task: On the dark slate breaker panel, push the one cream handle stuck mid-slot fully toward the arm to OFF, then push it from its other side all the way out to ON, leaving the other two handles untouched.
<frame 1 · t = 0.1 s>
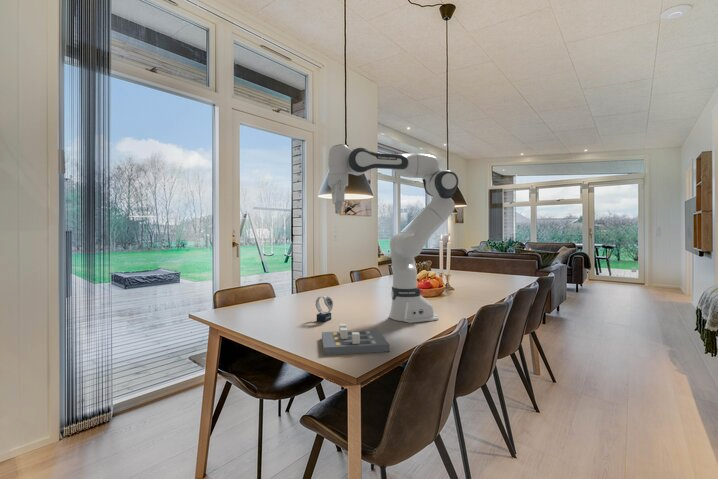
hand: (338, 213, 158), 48 cm above the table, tool pointing down, fingers open, 8 cm apart
breaker handle middle: (343, 333, 126), point 4 cm above the table, slide at 3.5 cm
breaker handle far: (342, 328, 132), point 4 cm above the table, slide at 3.5 cm
watch: (324, 320, 159), on the table
breaker panel: (353, 344, 127), on the table
breaker handle tripped: (355, 337, 121), point 4 cm above the table, slide at 0.0 cm
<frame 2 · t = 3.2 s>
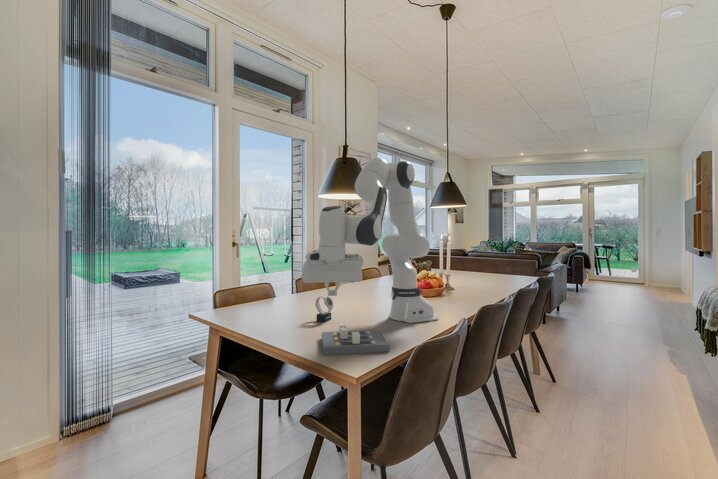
hand: (332, 295, 120), 19 cm above the table, tool pointing down, fingers closed
nothing on the table moved.
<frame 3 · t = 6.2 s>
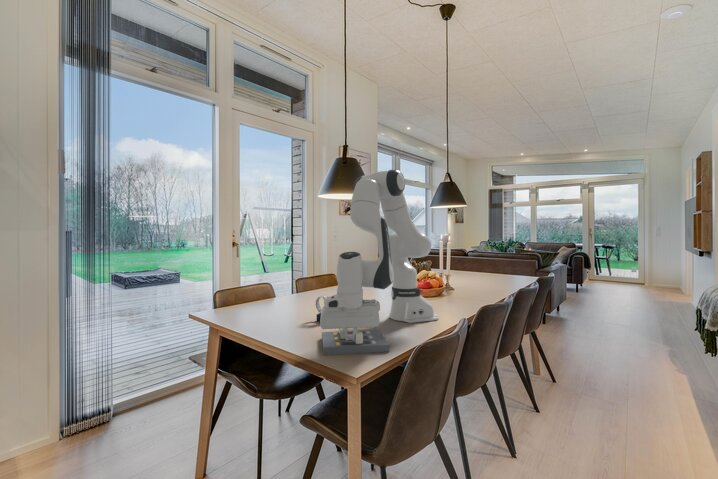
hand: (349, 340, 121), 3 cm above the table, tool pointing down, fingers closed
breaker handle tripped: (358, 337, 122), point 4 cm above the table, slide at -1.1 cm, touching gripper
everything else where it was.
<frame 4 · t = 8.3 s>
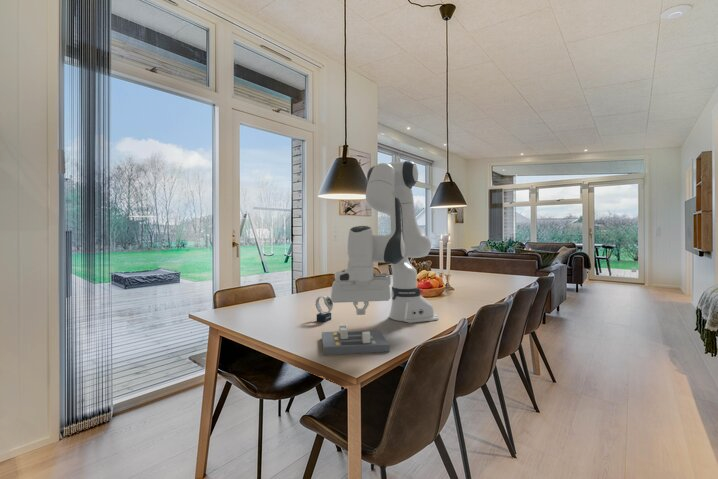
hand: (360, 314, 121), 12 cm above the table, tool pointing down, fingers closed
breaker handle tripped: (366, 337, 122), point 4 cm above the table, slide at -3.6 cm
everything else where it was.
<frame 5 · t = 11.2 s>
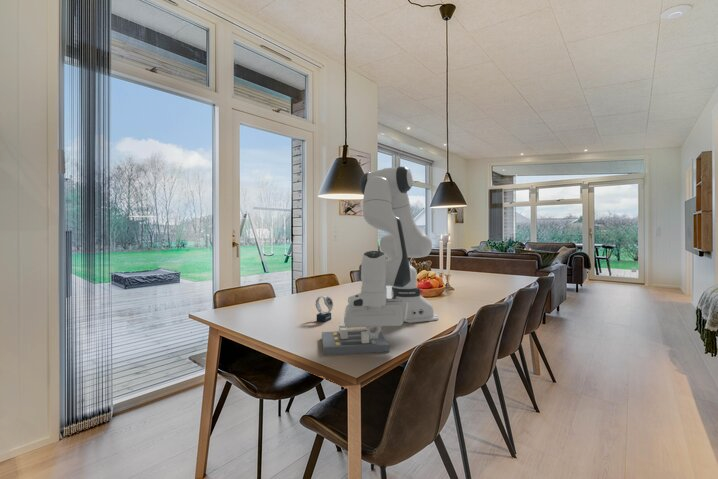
hand: (373, 338, 122), 4 cm above the table, tool pointing down, fingers closed
breaker handle tripped: (365, 337, 122), point 4 cm above the table, slide at -3.2 cm, touching gripper
everything else where it was.
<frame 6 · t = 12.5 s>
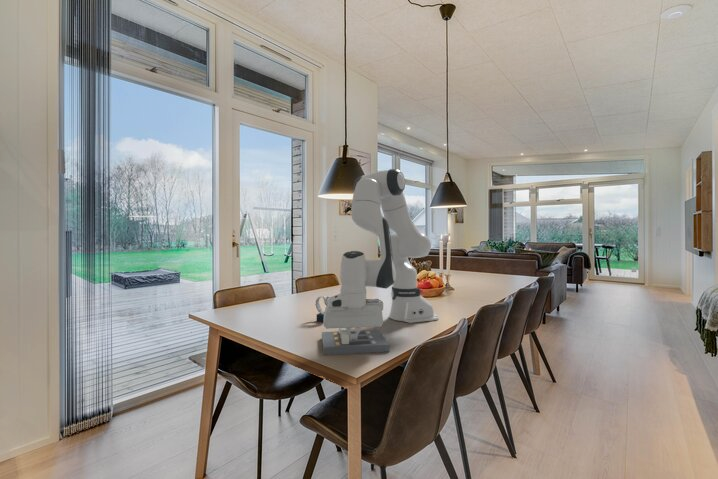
hand: (353, 339, 121), 4 cm above the table, tool pointing down, fingers closed
breaker handle tripped: (345, 338, 121), point 4 cm above the table, slide at 3.6 cm, touching gripper
everything else where it was.
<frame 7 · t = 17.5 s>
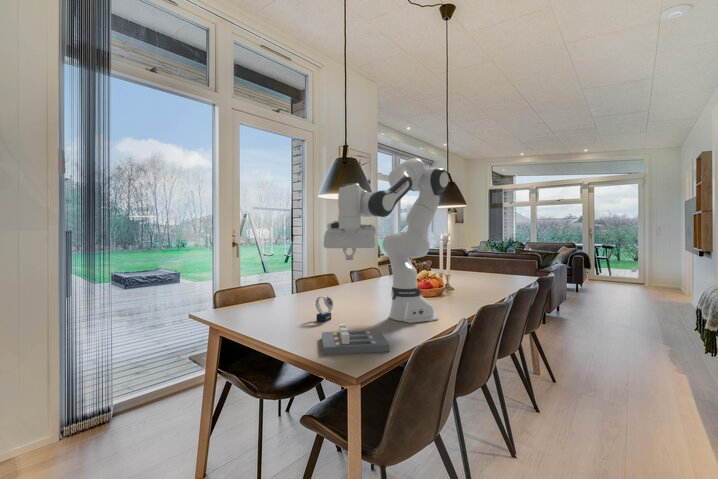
hand: (349, 259, 140), 29 cm above the table, tool pointing down, fingers closed
breaker handle tripped: (345, 338, 121), point 4 cm above the table, slide at 3.6 cm
everything else where it was.
at the end: breaker handle tripped slide at 3.6 cm; breaker handle middle slide at 3.5 cm; breaker handle far slide at 3.5 cm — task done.
